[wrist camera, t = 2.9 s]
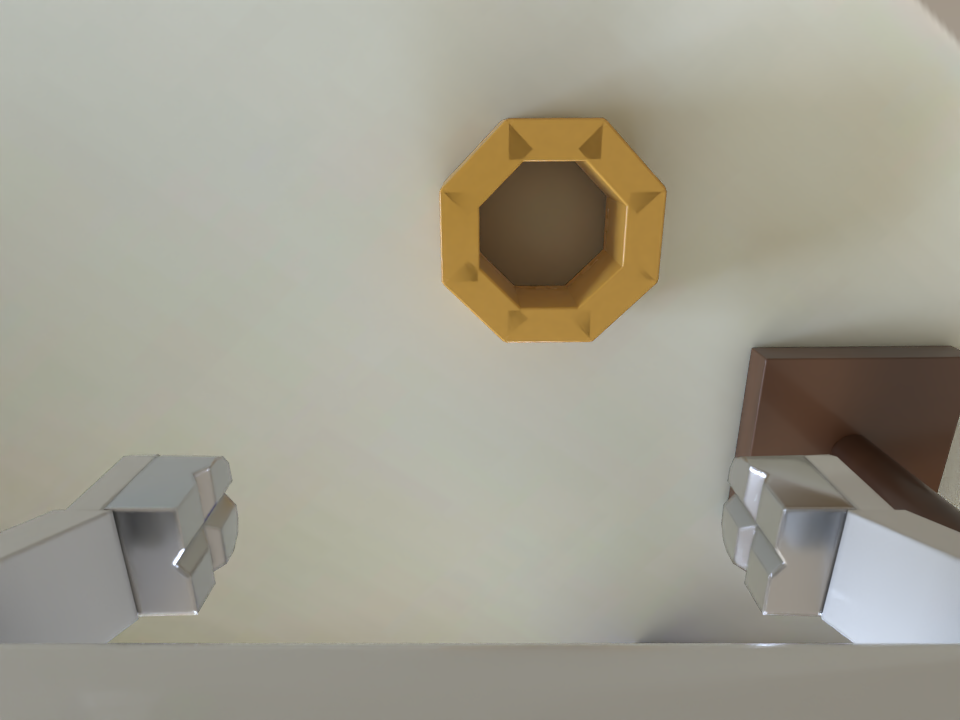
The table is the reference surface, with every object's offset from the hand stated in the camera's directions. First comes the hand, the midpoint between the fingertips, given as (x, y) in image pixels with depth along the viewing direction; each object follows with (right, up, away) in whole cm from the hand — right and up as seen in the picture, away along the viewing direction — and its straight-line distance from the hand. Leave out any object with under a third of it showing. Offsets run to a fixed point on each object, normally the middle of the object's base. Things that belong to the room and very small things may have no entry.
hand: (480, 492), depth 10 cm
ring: (+2, +8, +16) cm, 18 cm away
